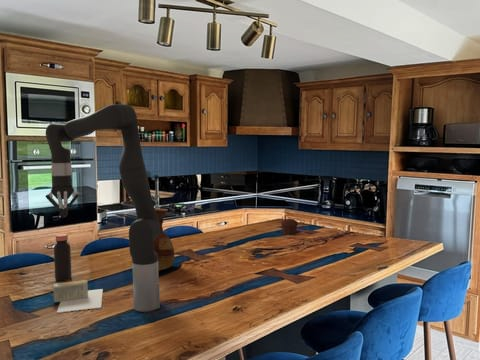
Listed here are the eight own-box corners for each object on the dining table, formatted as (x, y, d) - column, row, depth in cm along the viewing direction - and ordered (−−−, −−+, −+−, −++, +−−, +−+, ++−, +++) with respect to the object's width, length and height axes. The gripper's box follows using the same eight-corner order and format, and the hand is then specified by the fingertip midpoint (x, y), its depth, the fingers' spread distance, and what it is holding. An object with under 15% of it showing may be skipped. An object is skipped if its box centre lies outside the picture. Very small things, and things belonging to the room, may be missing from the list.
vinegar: (68, 275, 189) (66, 232, 187) (74, 278, 184) (72, 235, 182) (52, 278, 184) (50, 235, 182) (58, 282, 179) (56, 237, 177)
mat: (102, 289, 169) (102, 288, 169) (101, 308, 150) (101, 307, 150) (63, 293, 165) (63, 292, 165) (56, 313, 146) (56, 312, 146)
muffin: (280, 235, 270) (280, 220, 269) (281, 231, 281) (281, 217, 280) (298, 235, 268) (298, 220, 267) (298, 232, 279) (298, 217, 278)
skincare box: (53, 298, 159) (87, 294, 164) (53, 302, 155) (88, 298, 160) (53, 282, 158) (87, 279, 163) (53, 286, 154) (87, 282, 159)
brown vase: (182, 269, 197) (181, 207, 195) (147, 279, 183) (145, 212, 180) (158, 261, 211) (157, 203, 208) (123, 270, 196) (122, 208, 194)
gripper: (42, 175, 158) (44, 219, 159) (78, 174, 161) (80, 217, 163) (45, 174, 165) (47, 216, 166) (80, 173, 169) (81, 214, 170)
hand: (63, 217), depth 165 cm, fingers closed
